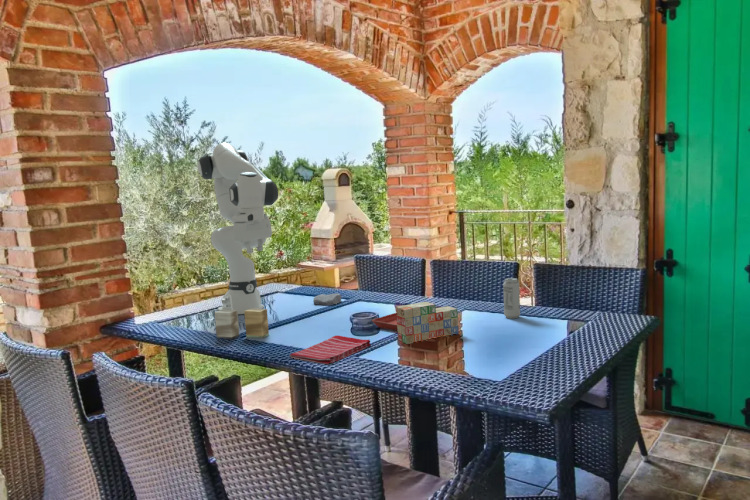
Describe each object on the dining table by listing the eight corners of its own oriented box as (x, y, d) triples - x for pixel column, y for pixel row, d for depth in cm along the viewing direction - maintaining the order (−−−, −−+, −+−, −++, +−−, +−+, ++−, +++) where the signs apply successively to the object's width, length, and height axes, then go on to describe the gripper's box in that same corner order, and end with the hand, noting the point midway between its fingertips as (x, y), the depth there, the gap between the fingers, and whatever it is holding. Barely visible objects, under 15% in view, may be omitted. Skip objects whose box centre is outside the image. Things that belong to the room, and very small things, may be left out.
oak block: (262, 338, 224) (260, 311, 223) (246, 337, 227) (244, 311, 226) (268, 335, 228) (266, 309, 227) (253, 334, 231) (251, 308, 230)
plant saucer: (437, 324, 232) (437, 316, 231) (407, 335, 219) (407, 326, 218) (401, 318, 244) (401, 310, 244) (371, 328, 231) (370, 320, 231)
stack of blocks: (449, 331, 220) (448, 297, 219) (459, 334, 215) (457, 300, 213) (397, 340, 211) (395, 306, 210) (406, 344, 206) (404, 309, 204)
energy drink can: (523, 317, 233) (522, 279, 232) (509, 319, 231) (508, 281, 229) (514, 314, 239) (513, 277, 237) (501, 316, 237) (500, 278, 235)
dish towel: (373, 346, 207) (372, 339, 207) (330, 366, 188) (329, 358, 187) (333, 341, 217) (333, 334, 216) (288, 359, 197) (288, 351, 197)
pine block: (232, 339, 225) (229, 313, 224) (216, 338, 228) (214, 312, 227) (239, 336, 229) (237, 310, 228) (224, 335, 232) (222, 309, 231)
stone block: (335, 309, 276) (343, 300, 285) (333, 299, 275) (341, 291, 284) (311, 309, 280) (320, 301, 289) (310, 300, 279) (318, 291, 288)
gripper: (260, 213, 239) (263, 248, 240) (228, 217, 220) (232, 255, 222) (274, 213, 236) (277, 248, 238) (243, 217, 218) (246, 255, 219)
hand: (255, 251), depth 230 cm, fingers open, 5 cm apart
